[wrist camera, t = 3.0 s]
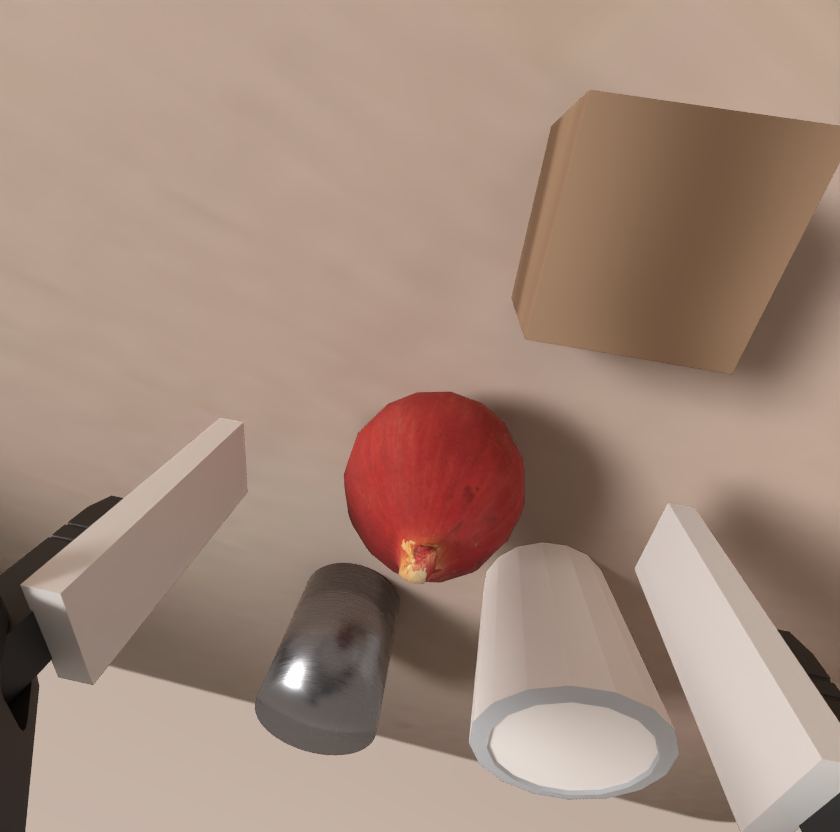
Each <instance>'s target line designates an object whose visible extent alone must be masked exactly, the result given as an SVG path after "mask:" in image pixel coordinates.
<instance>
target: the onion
mask: <svg viewBox="0 0 840 832" xmlns="http://www.w3.org/2000/svg"><path fill="white" fill-rule="evenodd" d="M344 486H345V494H346V500H347V507H348V513H349V517H350V520H351V522H352V525H353V527H354V528H355V530H356V532H357V533H358V535H359V536H360V538H361V540H362V541H363V543H364V544H365V546H366V548H367V549H368V550H369V552H370V553H371V554H372V555H373V556H375V557H376V558H377V559H379V560H380V561H381V562H382V563H383V564H385V565H386V566H387V567H388V568H389V569H391V570H392V571H393V572H395V573H397V574H399V575H400V576H401V577H402V578H403V579H404V580H407V581H409V582H412V583H417V584H424V583H425V582H444V581H447V580H450V579H453V578H456V577H460V576H463V575H466V574H469V573H472V572H474V571H476V570H478V569H479V568H480V567H481V566H482V565H483V564H484V563H485V562H486V561H487V560H488V559H489V558H490V557H491V556H492V555H493V553H494V552H496V551H497V550H498V549H499V548H500V547H501V546H502V545H503V544H504V543H506V542H507V541H508V539H509V537H510V535H511V533H512V531H513V529H514V527H515V525H516V523H517V521H518V519H519V517H520V515H521V512H522V509H523V505H524V466H523V459H522V457H521V455H520V453H519V451H518V449H517V447H516V445H515V443H514V441H513V439H512V437H511V435H510V433H509V431H508V429H507V427H506V425H505V423H504V422H503V421H502V420H500V419H499V418H498V417H497V416H496V415H495V414H494V413H492V412H491V411H490V410H489V409H488V408H487V407H485V406H484V405H483V404H482V403H480V402H477V401H474V400H472V399H469V398H466V397H463V396H461V395H458V394H455V393H453V392H421V393H415V394H412V395H410V396H407V397H404V398H402V399H399V400H397V401H394V402H392V403H389V404H387V405H386V406H385V407H384V408H383V409H382V410H381V411H380V412H379V413H378V414H377V415H376V416H375V417H374V418H373V419H372V420H371V421H370V422H369V423H368V424H367V425H366V426H365V427H364V428H363V429H362V430H361V431H360V432H359V433H358V435H357V438H356V440H355V443H354V446H353V449H352V452H351V455H350V458H349V461H348V464H347V467H346V470H345V473H344Z"/></svg>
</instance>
